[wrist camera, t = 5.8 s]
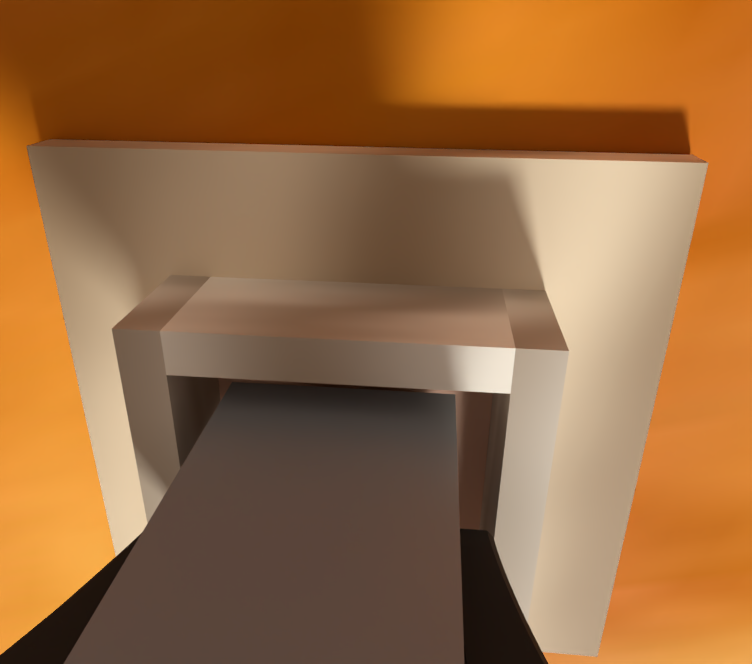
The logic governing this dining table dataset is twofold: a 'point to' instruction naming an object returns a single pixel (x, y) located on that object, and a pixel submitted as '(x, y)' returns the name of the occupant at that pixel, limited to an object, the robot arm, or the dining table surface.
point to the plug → (298, 538)
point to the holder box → (385, 319)
